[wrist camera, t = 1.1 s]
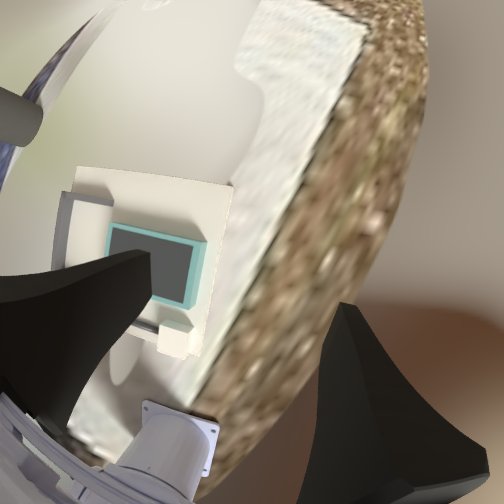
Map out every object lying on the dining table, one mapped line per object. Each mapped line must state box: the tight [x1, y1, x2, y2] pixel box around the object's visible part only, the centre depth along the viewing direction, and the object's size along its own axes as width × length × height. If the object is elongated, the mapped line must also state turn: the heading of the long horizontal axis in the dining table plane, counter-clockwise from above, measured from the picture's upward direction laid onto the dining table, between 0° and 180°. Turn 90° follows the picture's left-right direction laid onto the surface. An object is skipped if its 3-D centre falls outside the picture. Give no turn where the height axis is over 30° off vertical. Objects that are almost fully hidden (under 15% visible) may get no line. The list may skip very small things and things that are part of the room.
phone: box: [104, 222, 208, 310], centre depth 20 cm, size 8×5×2 cm, turn 78°
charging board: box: [51, 166, 234, 360], centre depth 21 cm, size 16×14×2 cm
